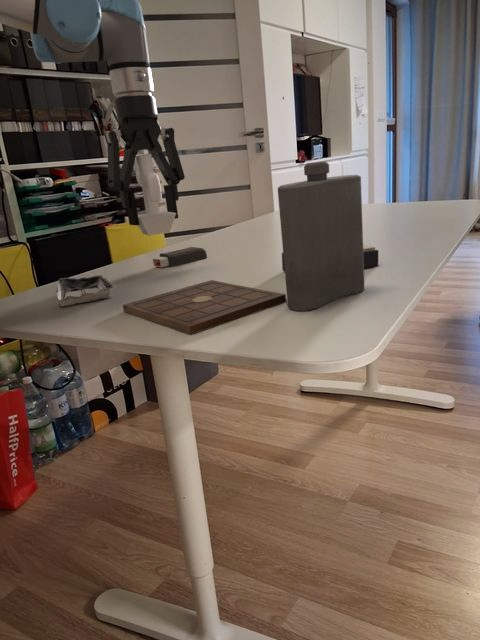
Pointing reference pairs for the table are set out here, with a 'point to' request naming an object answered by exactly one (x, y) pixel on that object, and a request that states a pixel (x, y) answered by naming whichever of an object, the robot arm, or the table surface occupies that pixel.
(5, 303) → the table surface
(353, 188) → the flask
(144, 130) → the robot arm
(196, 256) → the usb drive
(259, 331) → the table surface
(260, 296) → the board
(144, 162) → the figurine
